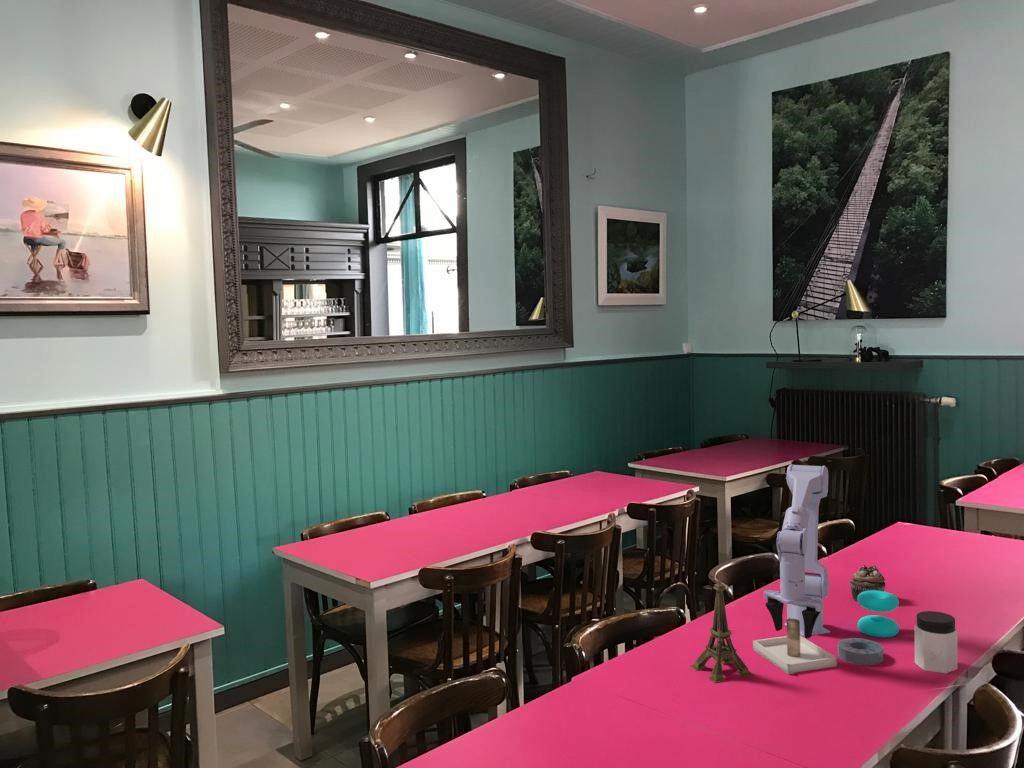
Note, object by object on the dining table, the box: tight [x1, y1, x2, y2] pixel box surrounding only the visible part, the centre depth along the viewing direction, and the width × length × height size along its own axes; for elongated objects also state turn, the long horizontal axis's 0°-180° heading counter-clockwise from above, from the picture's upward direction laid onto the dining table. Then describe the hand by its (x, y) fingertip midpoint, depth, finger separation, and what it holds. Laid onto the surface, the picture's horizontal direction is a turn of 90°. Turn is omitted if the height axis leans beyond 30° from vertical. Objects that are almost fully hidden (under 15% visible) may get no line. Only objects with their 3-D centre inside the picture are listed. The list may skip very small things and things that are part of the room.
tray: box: [752, 635, 838, 675], centre depth 203 cm, size 16×13×2 cm
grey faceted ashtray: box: [837, 637, 884, 666], centre depth 202 cm, size 10×10×3 cm
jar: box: [914, 610, 958, 674], centre depth 195 cm, size 9×8×12 cm
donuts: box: [856, 590, 900, 638], centre depth 218 cm, size 10×10×10 cm
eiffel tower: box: [689, 573, 754, 684], centre depth 197 cm, size 11×11×25 cm
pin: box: [786, 618, 801, 657], centre depth 203 cm, size 3×3×8 cm
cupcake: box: [848, 565, 887, 603], centre depth 244 cm, size 10×10×10 cm
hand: (793, 633), depth 203 cm, fingers open, 7 cm apart
